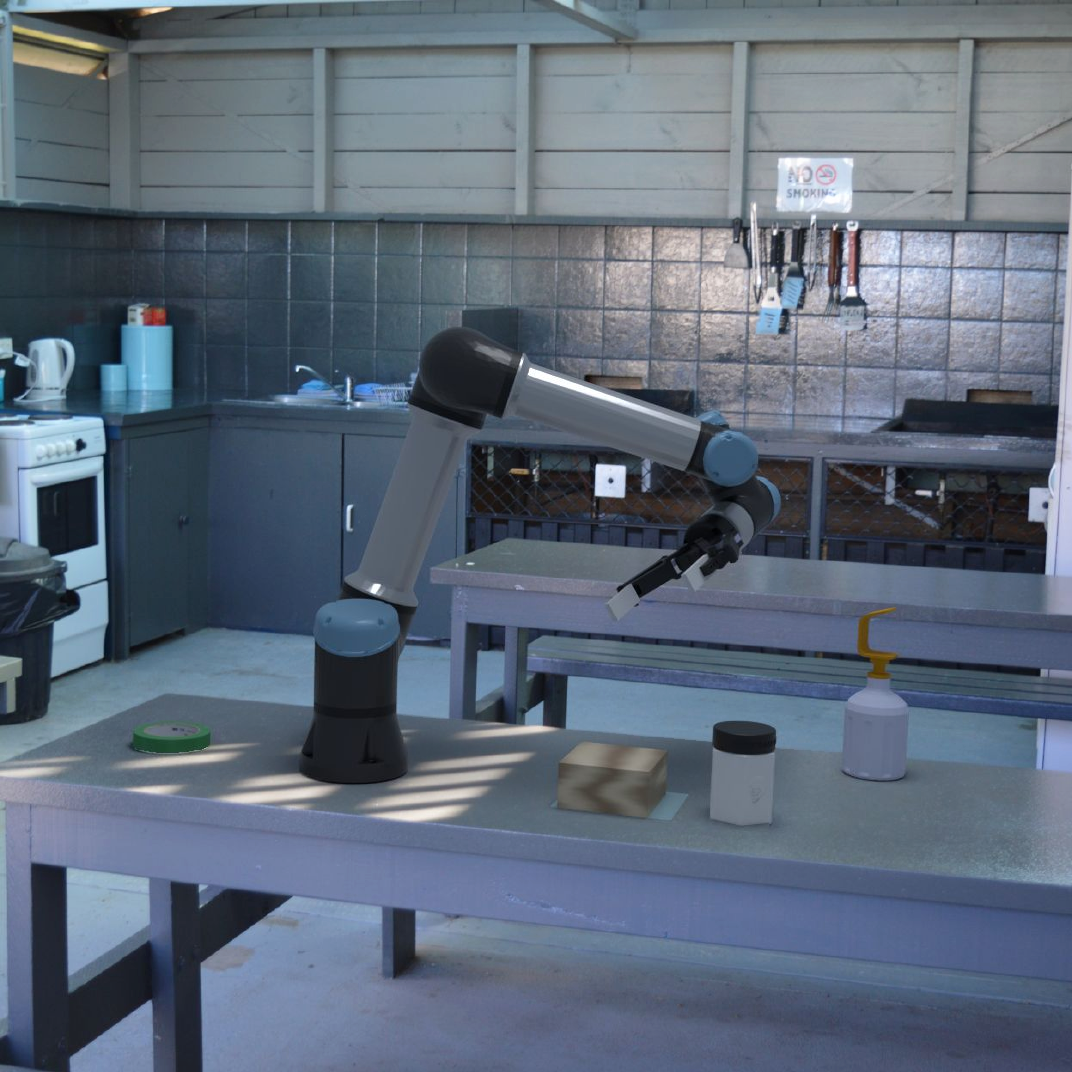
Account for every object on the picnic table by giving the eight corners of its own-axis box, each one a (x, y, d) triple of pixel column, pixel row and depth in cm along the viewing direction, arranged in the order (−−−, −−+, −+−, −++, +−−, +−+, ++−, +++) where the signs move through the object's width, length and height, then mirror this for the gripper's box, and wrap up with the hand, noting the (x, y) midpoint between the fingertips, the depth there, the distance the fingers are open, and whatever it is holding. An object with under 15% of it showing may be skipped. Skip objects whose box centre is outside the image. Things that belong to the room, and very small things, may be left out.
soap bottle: (895, 785, 210) (905, 614, 208) (833, 775, 215) (842, 607, 212) (912, 771, 218) (922, 606, 216) (852, 762, 223) (861, 600, 220)
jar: (726, 830, 187) (731, 737, 185) (694, 812, 194) (698, 722, 193) (787, 824, 190) (791, 732, 189) (753, 806, 198) (757, 718, 196)
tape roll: (225, 744, 222) (225, 727, 222) (177, 760, 212) (178, 742, 212) (166, 734, 227) (166, 717, 226) (117, 750, 217) (117, 732, 216)
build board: (549, 809, 193) (549, 806, 193) (575, 784, 205) (575, 781, 205) (670, 823, 189) (670, 820, 188) (689, 797, 201) (689, 794, 201)
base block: (557, 807, 193) (558, 762, 192) (580, 784, 204) (581, 741, 203) (647, 818, 189) (649, 772, 189) (665, 793, 201) (667, 750, 200)
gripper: (800, 532, 205) (735, 596, 189) (664, 584, 221) (594, 647, 205) (775, 484, 204) (708, 545, 188) (640, 540, 220) (568, 600, 204)
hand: (648, 598), depth 197 cm, fingers open, 13 cm apart
